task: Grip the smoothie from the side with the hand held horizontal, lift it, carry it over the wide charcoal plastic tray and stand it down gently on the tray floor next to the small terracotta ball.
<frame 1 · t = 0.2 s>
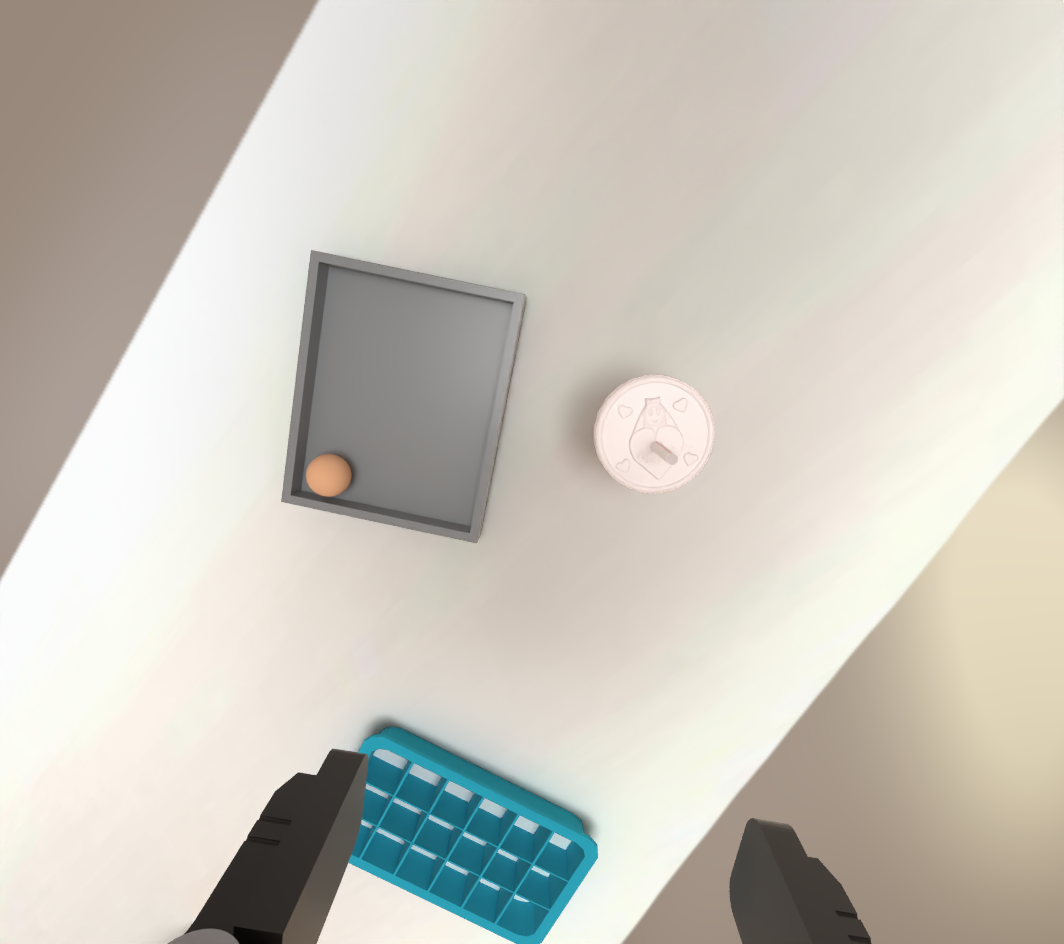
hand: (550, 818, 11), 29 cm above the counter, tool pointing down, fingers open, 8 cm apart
ice cube tray: (462, 812, 46), on the counter
smoothie: (631, 419, 38), on the counter
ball: (337, 471, 40), resting on tray
tray: (405, 401, 39), on the counter
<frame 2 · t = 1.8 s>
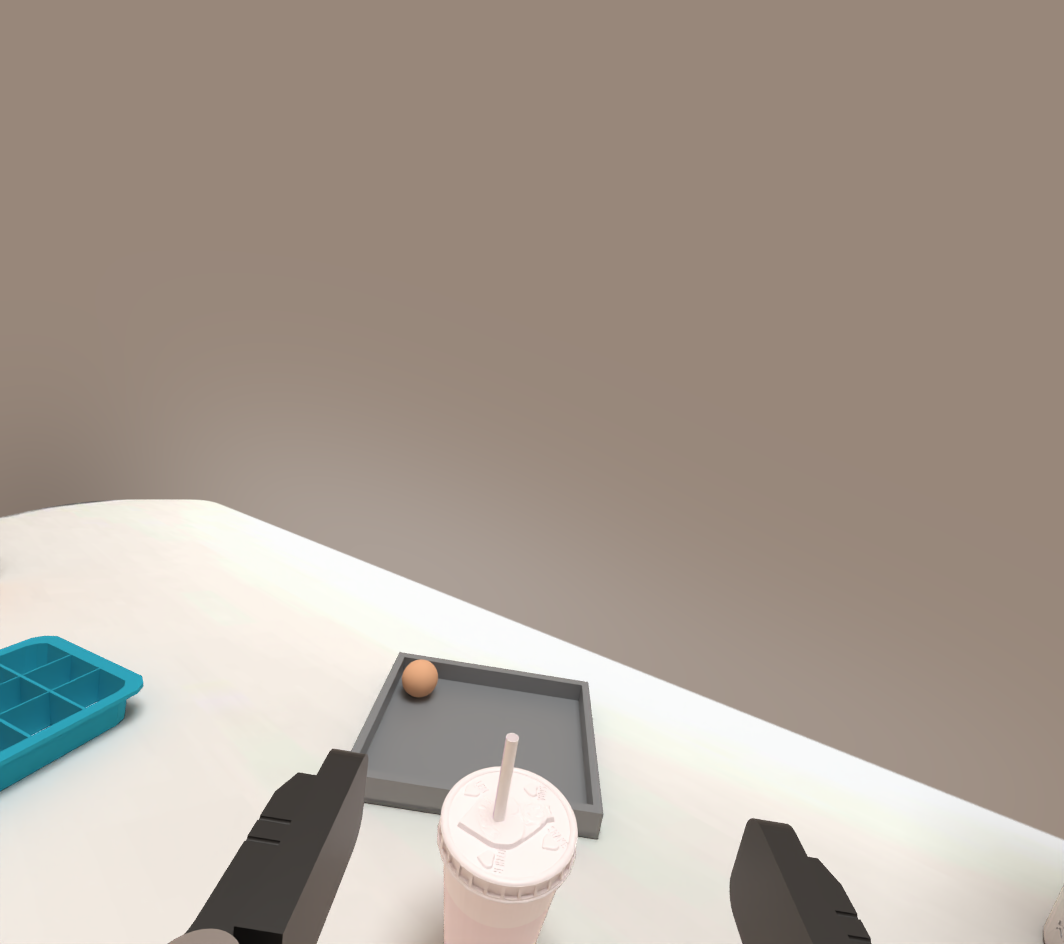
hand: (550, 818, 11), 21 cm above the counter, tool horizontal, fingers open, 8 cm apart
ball: (418, 693, 46), resting on tray
tray: (481, 741, 42), on the counter
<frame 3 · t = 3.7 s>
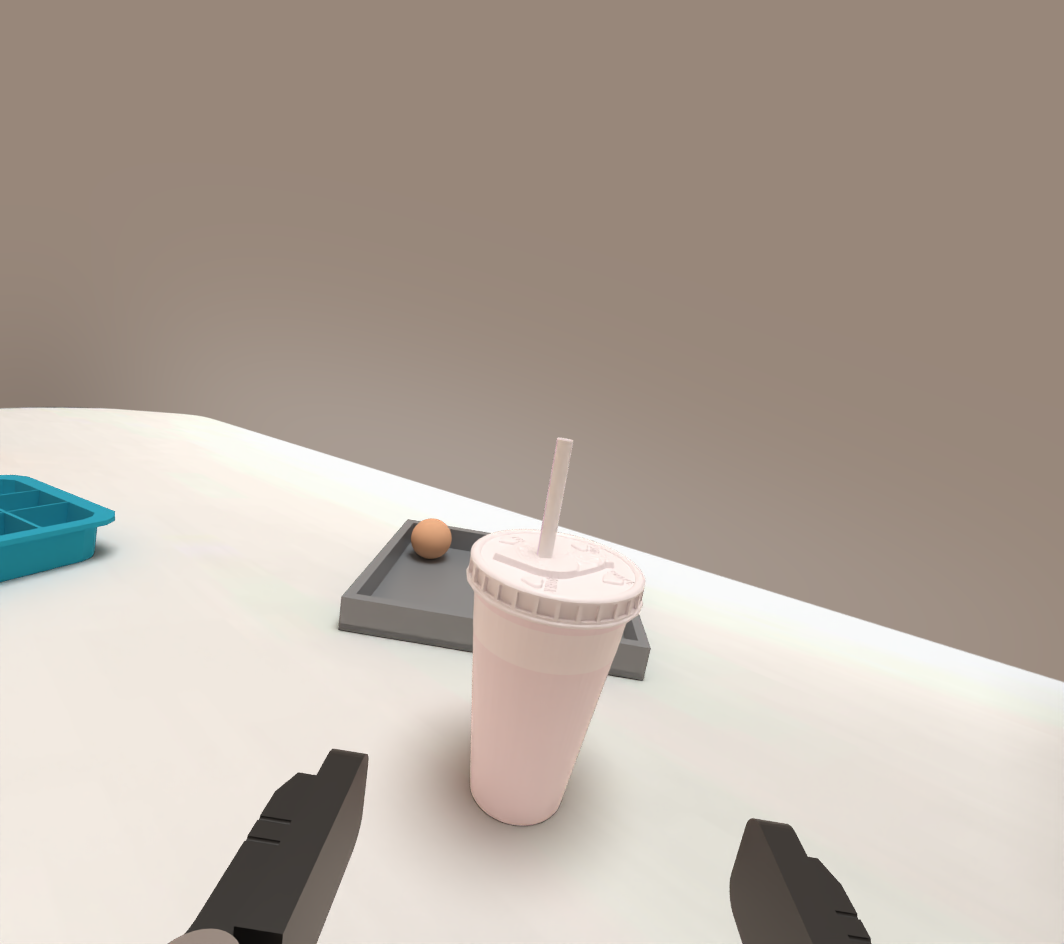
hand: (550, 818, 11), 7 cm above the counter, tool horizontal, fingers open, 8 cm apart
smoothie: (515, 789, 22), on the counter
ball: (428, 557, 41), resting on tray
tray: (501, 598, 37), on the counter
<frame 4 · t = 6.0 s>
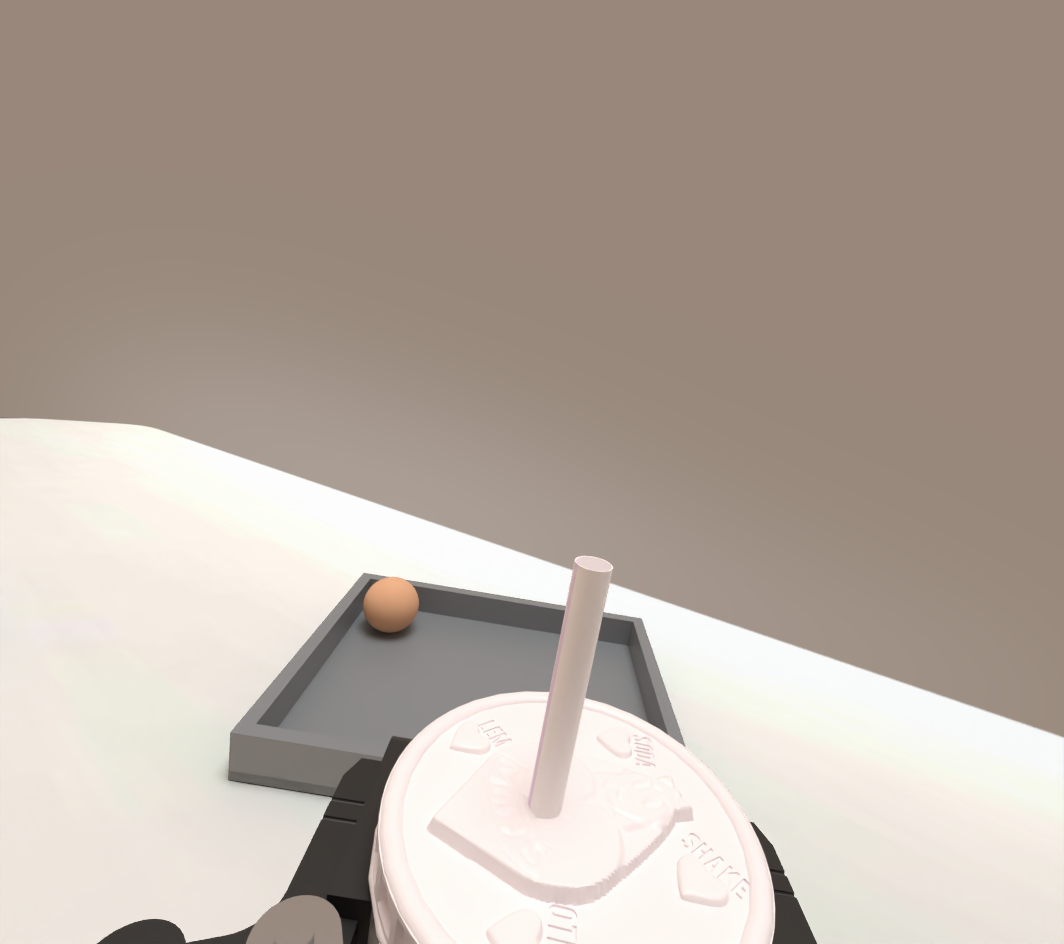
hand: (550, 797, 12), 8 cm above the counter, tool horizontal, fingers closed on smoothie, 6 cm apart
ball: (388, 628, 30), resting on tray
tray: (484, 696, 27), on the counter
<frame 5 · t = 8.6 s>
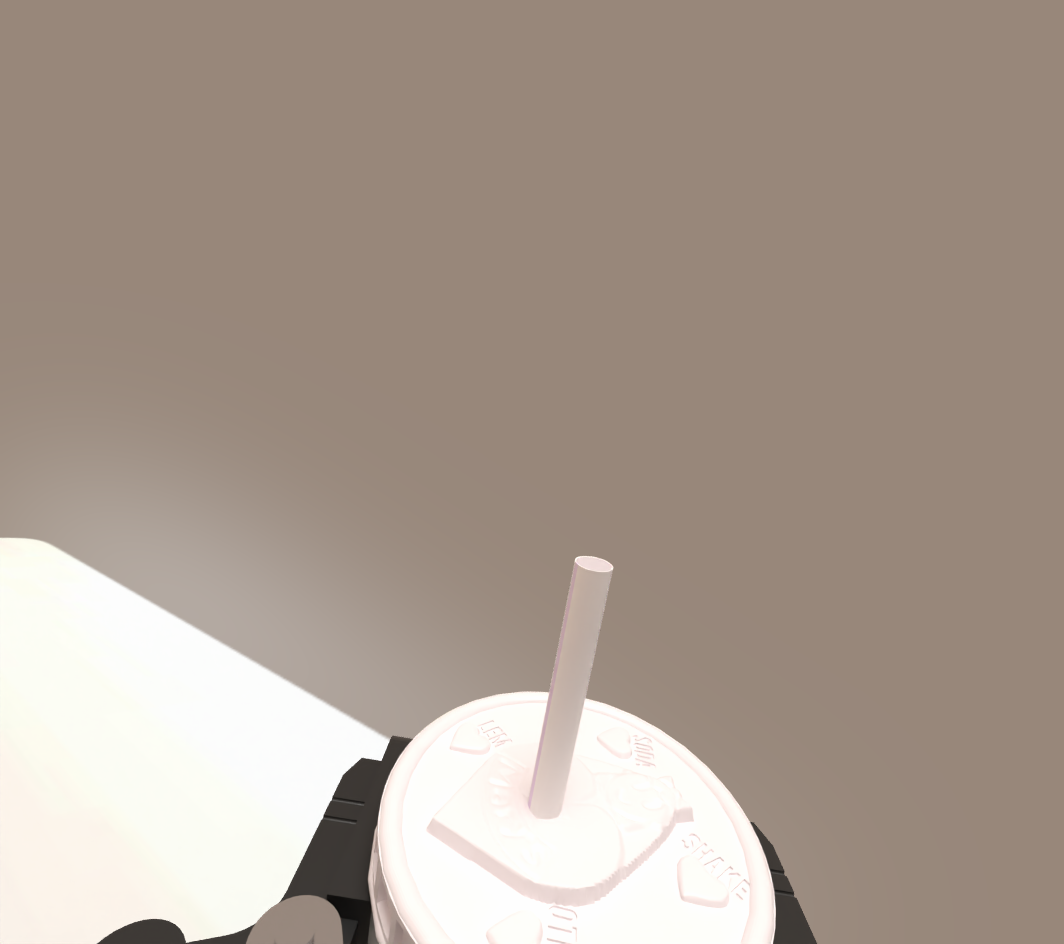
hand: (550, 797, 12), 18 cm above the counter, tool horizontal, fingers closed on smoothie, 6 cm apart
when the fingers open (8 cm above the counter, at t = 10.9 s): smoothie moves 1 cm, resting on tray.
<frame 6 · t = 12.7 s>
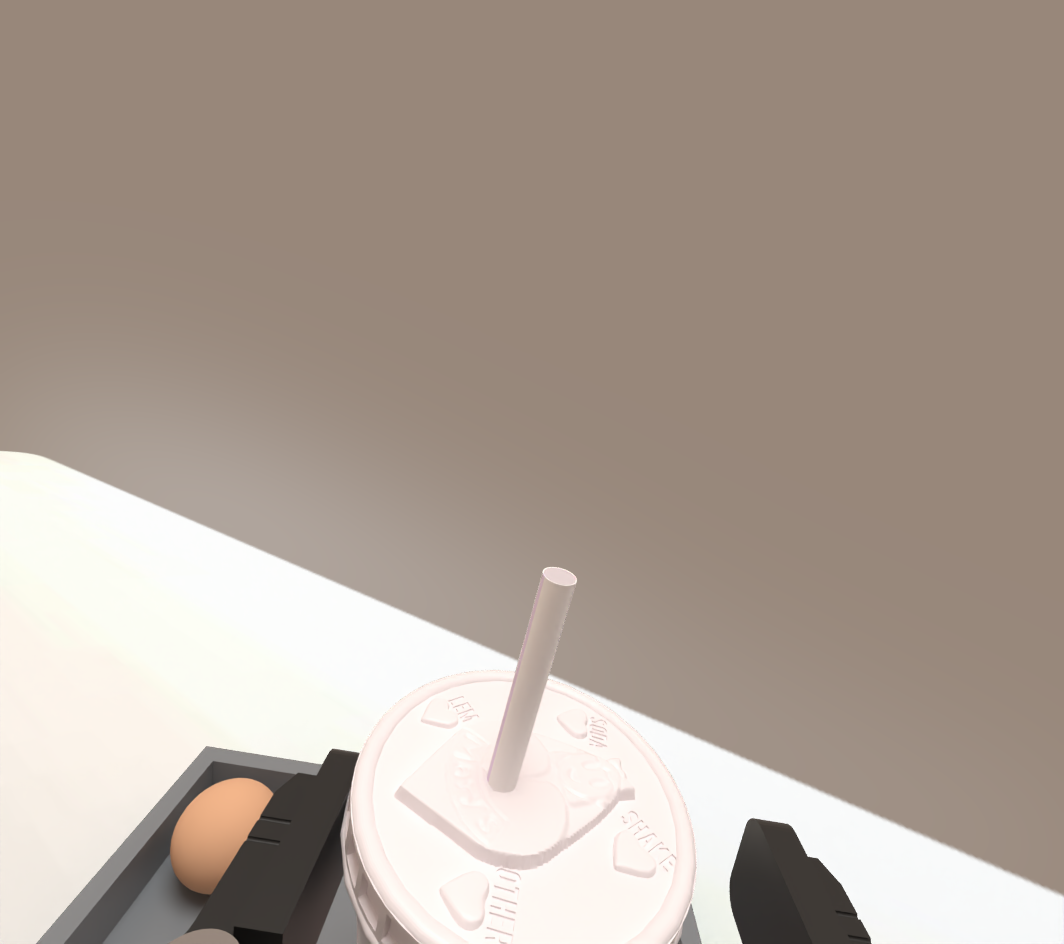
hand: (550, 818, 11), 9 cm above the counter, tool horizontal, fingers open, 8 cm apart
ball: (226, 871, 17), resting on tray
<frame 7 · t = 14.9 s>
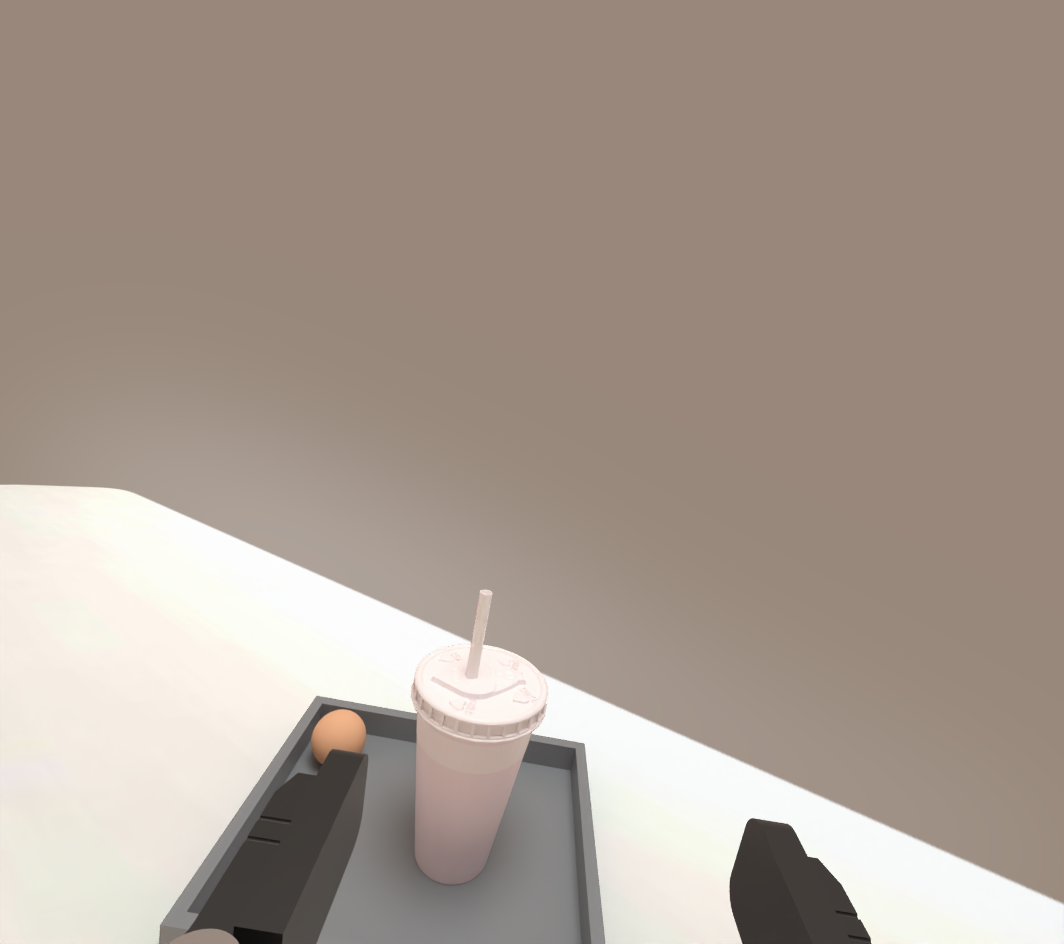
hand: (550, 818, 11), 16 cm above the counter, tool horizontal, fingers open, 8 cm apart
smoothie: (451, 853, 27), resting on tray
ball: (336, 760, 32), resting on tray
tray: (421, 843, 28), on the counter
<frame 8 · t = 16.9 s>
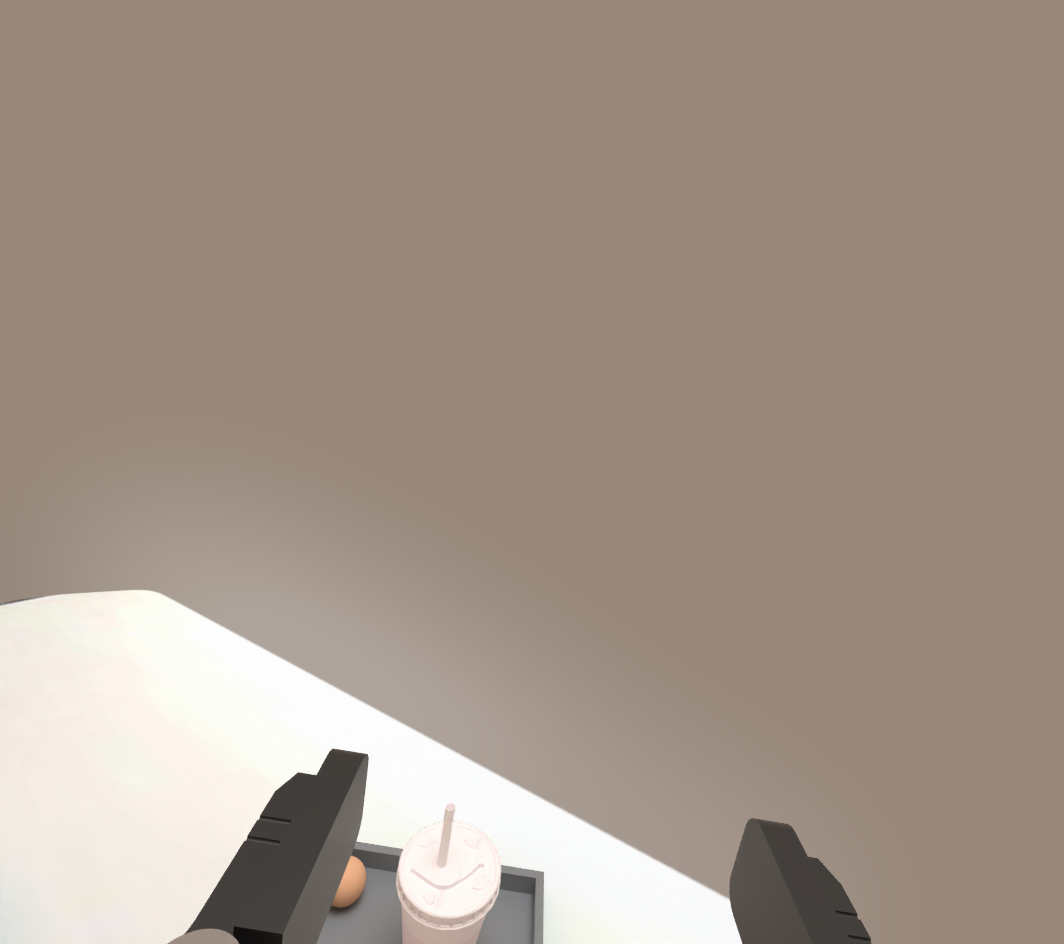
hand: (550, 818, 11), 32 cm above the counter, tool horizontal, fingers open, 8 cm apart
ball: (343, 897, 40), resting on tray
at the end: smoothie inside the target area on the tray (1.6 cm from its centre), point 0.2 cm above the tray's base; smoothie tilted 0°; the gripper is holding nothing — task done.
